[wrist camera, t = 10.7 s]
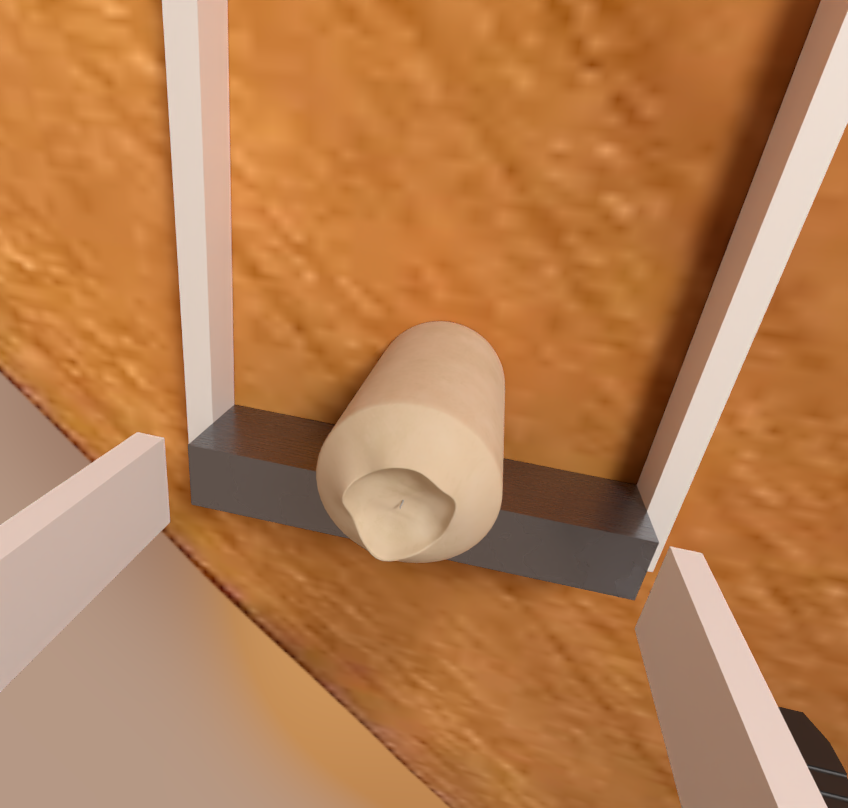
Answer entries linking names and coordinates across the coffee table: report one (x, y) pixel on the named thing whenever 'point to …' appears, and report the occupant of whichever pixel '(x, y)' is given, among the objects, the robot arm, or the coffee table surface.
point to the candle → (420, 448)
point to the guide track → (522, 482)
